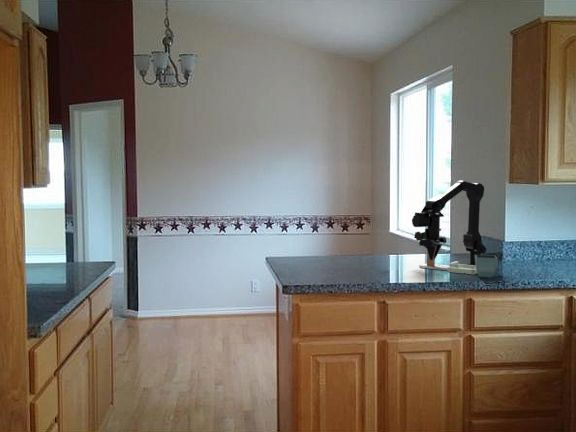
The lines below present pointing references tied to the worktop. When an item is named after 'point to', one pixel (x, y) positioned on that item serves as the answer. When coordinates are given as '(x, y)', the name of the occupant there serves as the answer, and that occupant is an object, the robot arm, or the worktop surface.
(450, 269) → the corral
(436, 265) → the metal bookend
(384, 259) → the worktop surface
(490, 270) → the flower pot
